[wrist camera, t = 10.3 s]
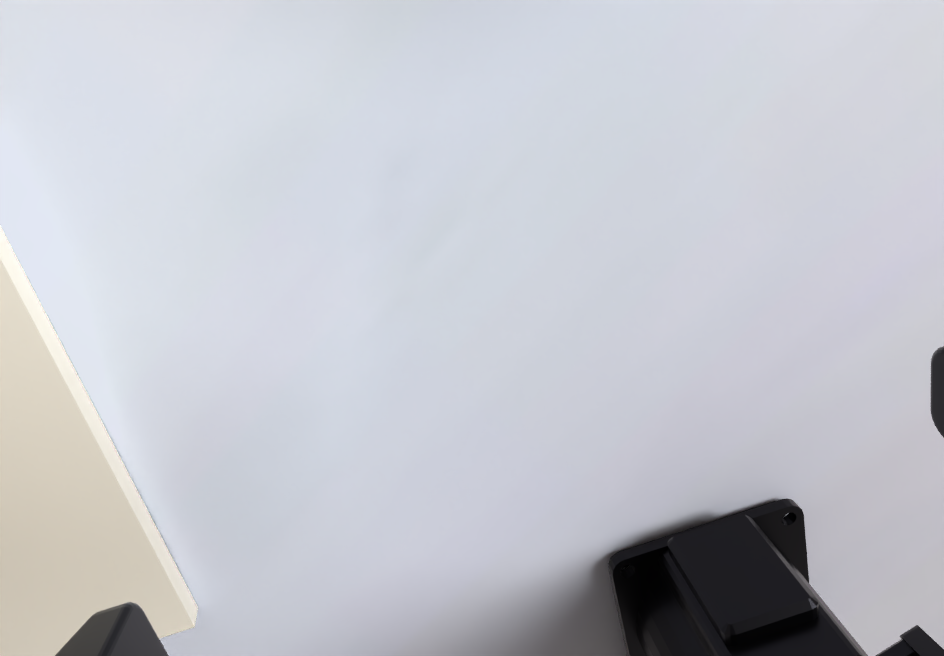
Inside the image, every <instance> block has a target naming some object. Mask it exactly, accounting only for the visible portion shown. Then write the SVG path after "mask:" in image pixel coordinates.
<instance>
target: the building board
mask: <svg viewBox="0 0 944 656" xmlns="http://www.w3.org/2000/svg"><path fill="white" fill-rule="evenodd" d="M127 602H132V603H136V604H138V605H139V606H140V607H141V608H142V610H143V611H144V613H145V615H146V616H147V618H148V620H149V622H150V624H151V625H152V627H153V629H154V631H155V632H156V634H157V636H158V638H162V637H166V636H169V635H172V634H175V633H178V632H181V631H184V630H188V629H191V628H194V627H195V622H196V617H197V611H198V607H197V605H196V603H195V601H194V599H193V597H192V595H191V593H190V591H189V589H188V587H187V585H186V583H185V582H184V580H183V578H182V576H181V574H180V572H179V570H178V568H177V566H176V564H175V562H174V560H173V558H172V556H171V554H170V553H169V551H168V549H167V547H166V545H165V543H164V541H163V539H162V537H161V535H160V533H159V531H158V529H157V527H156V525H155V523H154V522H153V520H152V518H151V516H150V514H149V512H148V510H147V508H146V506H145V504H144V502H143V500H142V498H141V496H140V494H139V493H138V491H137V489H136V487H135V485H134V483H133V481H132V479H131V477H130V475H129V473H128V471H127V469H126V467H125V465H124V464H123V462H122V460H121V458H120V456H119V454H118V452H117V450H116V448H115V446H114V444H113V442H112V440H111V438H110V436H109V435H108V433H107V431H106V429H105V427H104V425H103V423H102V421H101V419H100V417H99V415H98V413H97V411H96V409H95V407H94V406H93V404H92V402H91V400H90V398H89V396H88V394H87V392H86V390H85V388H84V386H83V384H82V382H81V380H80V378H79V377H78V375H77V373H76V371H75V369H74V367H73V365H72V363H71V361H70V359H69V357H68V355H67V353H66V351H65V349H64V348H63V346H62V344H61V342H60V340H59V338H58V336H57V334H56V332H55V330H54V328H53V326H52V324H51V322H50V320H49V319H48V317H47V315H46V313H45V311H44V309H43V307H42V305H41V303H40V301H39V299H38V297H37V295H36V293H35V291H34V290H33V288H32V286H31V284H30V282H29V280H28V278H27V276H26V274H25V272H24V270H23V268H22V266H21V264H20V262H19V260H18V259H17V257H16V255H15V253H14V251H13V249H12V247H11V245H10V243H9V241H8V239H7V237H6V235H5V233H4V231H3V230H2V228H1V226H0V656H55V655H56V654H57V653H58V652H59V650H60V649H61V648H62V647H63V646H64V645H65V644H66V643H67V642H68V641H69V640H70V639H71V637H72V636H73V635H74V634H75V633H76V632H77V631H78V630H79V629H80V628H81V627H82V625H83V624H84V623H85V622H86V621H87V620H88V619H89V618H90V617H91V616H92V615H93V614H95V613H96V612H99V611H101V610H105V609H108V608H111V607H114V606H117V605H121V604H124V603H127Z"/></svg>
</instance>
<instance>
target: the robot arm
mask: <svg viewBox="0 0 944 656" xmlns="http://www.w3.org/2000/svg"><path fill="white" fill-rule="evenodd" d="M931 414H932V419H933V421H934V424H935V426H936V428H937V429H938V431H939V432H940V434H941V435H942V436H943V437H944V346H943V347H940V348H938V349H937V350H936V351H935V352H934V354H933V356H932V359H931ZM787 513H789V514H788V515H787V516H785V517H784V518H783V516H784V515H785V514H787ZM626 565H629V567H628V568H626V569H622V567H624V566H626ZM608 568H609V573H610V578H611V582H612V587H613V591H614V596H615V600H616V605H617V610H618V614H619V619H620V623H621V628H622V633H623V637H624V642H625V646H626V651H627V655H628V656H868V655H867V654H866V653H865V651H864V650H863V649H862V648H861V647H860V645H859V644H858V643H857V642H856V640H855V639H854V638H853V637H852V636H851V634H850V633H849V632H848V631H847V629H846V628H845V627H844V626H843V625H842V623H841V622H840V621H839V620H838V618H837V617H836V616H835V615H834V614H833V612H832V611H831V610H830V609H829V607H828V606H827V605H826V604H825V603H824V601H823V600H822V599H821V598H820V596H819V595H818V594H817V593H816V592H815V590H814V589H813V588H812V587H811V585H810V584H809V576H808V564H807V552H806V539H805V527H804V514H803V511H802V509H801V508H800V507H799V506H798V505H797V504H796V503H795V502H794V501H793V500H791V499H782V500H778V501H775V502H772V503H769V504H766V505H763V506H760V507H757V508H754V509H751V510H747V511H744V512H741V513H738V514H735V515H732V516H729V517H726V518H723V519H720V520H716V521H713V522H710V523H707V524H704V525H701V526H698V527H695V528H692V529H689V530H685V531H682V532H679V533H676V534H673V535H670V536H667V537H664V538H661V539H658V540H654V541H651V542H648V543H645V544H642V545H639V546H636V547H633V548H630V549H627V550H623V551H620V552H618V553H616V554H615V555H614V556H613V557H612V558H611V559H610V561H609V565H608ZM621 569H622V570H621ZM900 637H901V640H900V641H898V642H897V643H895V644H893V645H892V646H890V647H889V648H887V649H885V650H884V651H882V652H881V653H879V654H878V655H876V656H944V649H943V648H941V647H940V646H939V645H938V644H937V643H936V642H935V641H934V640H933V639H932V638H931V637H930V636H929V635H927V634H926V633H925V632H924V631H923V630H922V629H921V628H920V627H919V626H918V625H916V626H915V627H913V628H912V629H910V630H908V631H907V632H905V633H904V634H902V635H901V636H900ZM55 656H168V654H167V652H166V650H165V649H164V647H163V645H162V643H161V641H160V640H159V638H158V636H157V634H156V632H155V631H154V629H153V627H152V625H151V624H150V622H149V620H148V618H147V616H146V615H145V613H144V611H143V610H142V608H141V607H140V606H139V605H138V604H136V603H132V602H127V603H124V604H121V605H117V606H114V607H111V608H108V609H105V610H101V611H99V612H96V613H95V614H93V615H92V616H91V617H90V618H89V619H88V620H87V621H86V622H85V623H84V624H83V625H82V627H81V628H80V629H79V630H78V631H77V632H76V633H75V634H74V635H73V636H72V637H71V639H70V640H69V641H68V642H67V643H66V644H65V645H64V646H63V647H62V648H61V649H60V650H59V652H58V653H57V654H56V655H55Z"/></svg>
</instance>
